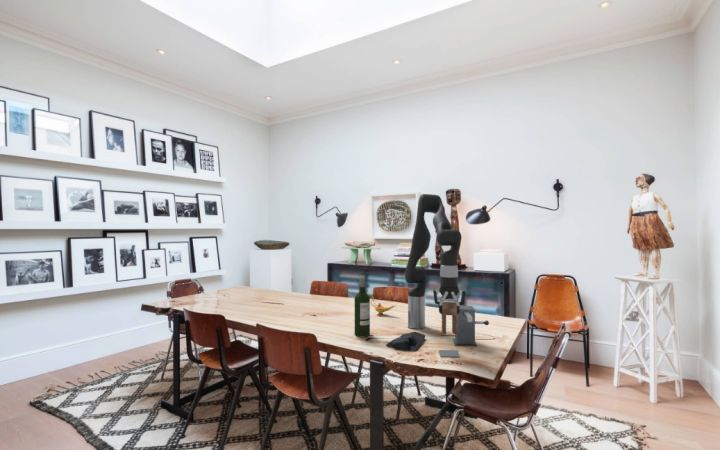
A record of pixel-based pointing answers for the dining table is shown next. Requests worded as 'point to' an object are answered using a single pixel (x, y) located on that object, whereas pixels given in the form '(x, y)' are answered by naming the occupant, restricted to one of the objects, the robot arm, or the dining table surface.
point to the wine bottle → (362, 311)
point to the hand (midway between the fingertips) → (449, 313)
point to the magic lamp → (381, 308)
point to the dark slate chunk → (407, 341)
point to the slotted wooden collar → (449, 309)
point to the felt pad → (449, 353)
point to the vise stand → (466, 327)
